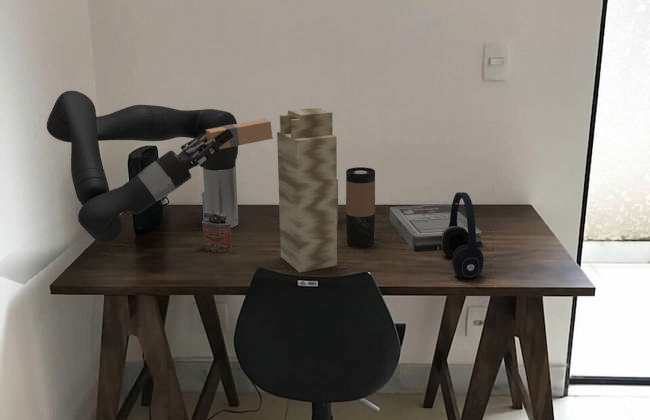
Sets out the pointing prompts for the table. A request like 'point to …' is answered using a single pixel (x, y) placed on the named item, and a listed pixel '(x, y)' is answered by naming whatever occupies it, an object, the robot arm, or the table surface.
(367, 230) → the travel mug
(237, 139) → the bar
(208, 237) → the lighter
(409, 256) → the table surface
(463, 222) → the hard drive
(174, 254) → the table surface
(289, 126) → the socket tower
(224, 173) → the robot arm
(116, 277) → the table surface
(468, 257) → the headphones
